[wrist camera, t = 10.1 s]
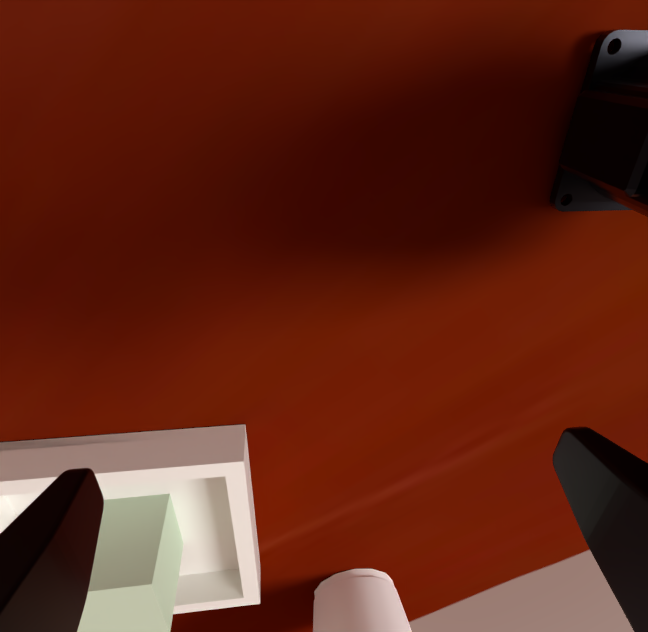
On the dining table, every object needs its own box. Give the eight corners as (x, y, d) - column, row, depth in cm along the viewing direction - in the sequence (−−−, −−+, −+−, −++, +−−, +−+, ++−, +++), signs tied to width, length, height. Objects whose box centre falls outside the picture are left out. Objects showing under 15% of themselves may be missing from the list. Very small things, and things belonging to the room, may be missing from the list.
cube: (169, 493, 25) (151, 584, 21) (183, 543, 28) (170, 633, 24) (77, 502, 25) (40, 597, 21) (100, 552, 28) (72, 645, 23)
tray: (245, 424, 24) (243, 461, 22) (260, 565, 32) (260, 603, 29) (-35, 444, 23) (-65, 487, 20) (50, 588, 30) (35, 630, 28)
